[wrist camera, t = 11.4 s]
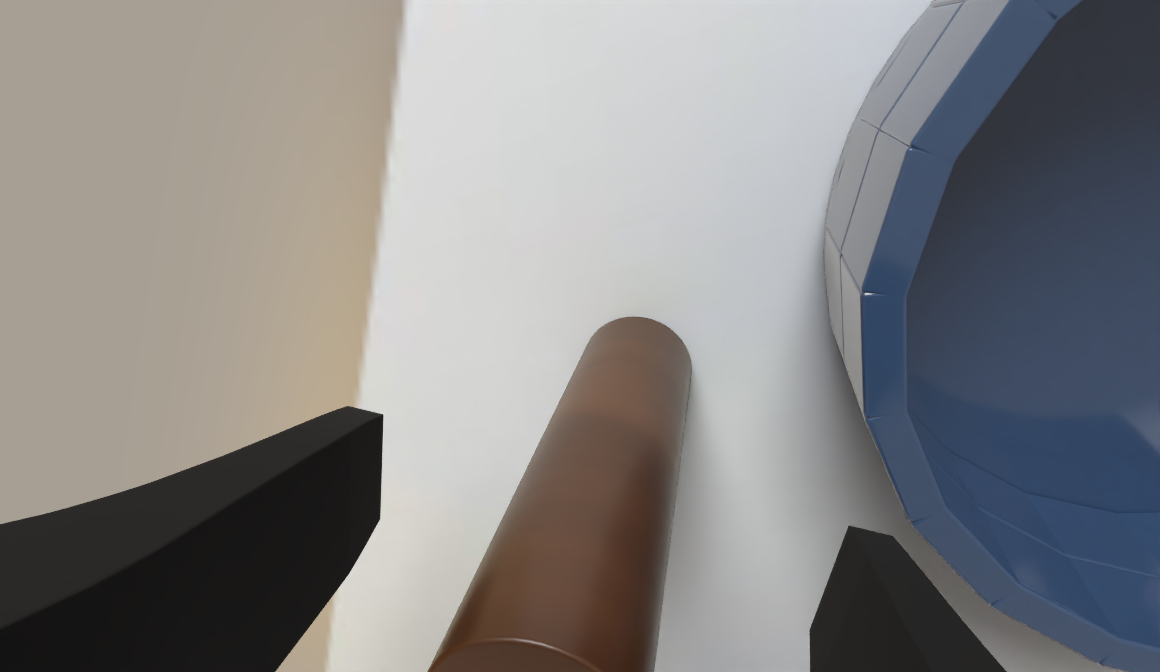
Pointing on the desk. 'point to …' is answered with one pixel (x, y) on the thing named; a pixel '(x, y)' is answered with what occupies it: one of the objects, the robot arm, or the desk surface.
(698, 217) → the desk surface
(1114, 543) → the bowl
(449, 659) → the stirring stick
